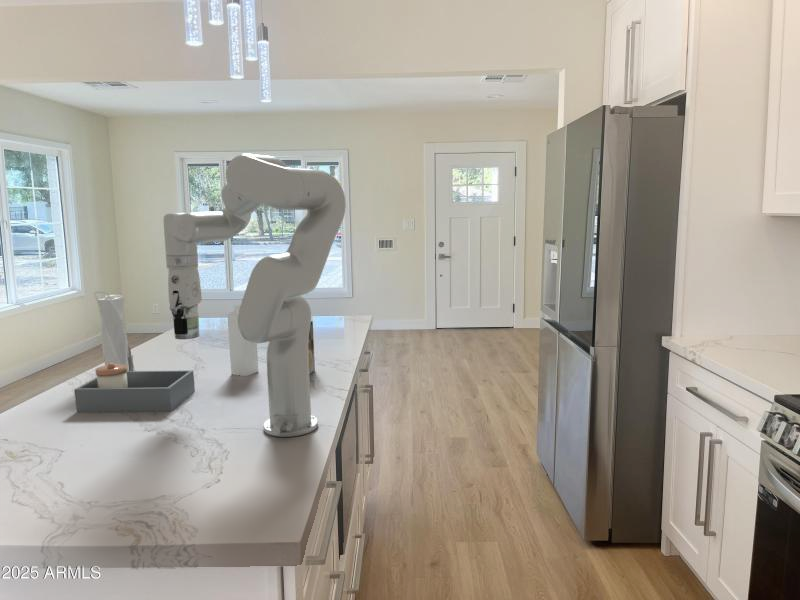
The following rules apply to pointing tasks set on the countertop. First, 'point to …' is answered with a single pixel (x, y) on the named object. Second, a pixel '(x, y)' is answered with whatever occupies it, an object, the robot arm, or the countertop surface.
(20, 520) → the countertop surface
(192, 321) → the grey green cylinder
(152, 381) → the tote
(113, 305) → the skyscraper
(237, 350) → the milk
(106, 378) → the lidded jar
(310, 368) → the coffee box
